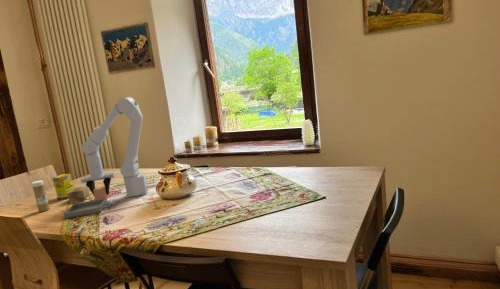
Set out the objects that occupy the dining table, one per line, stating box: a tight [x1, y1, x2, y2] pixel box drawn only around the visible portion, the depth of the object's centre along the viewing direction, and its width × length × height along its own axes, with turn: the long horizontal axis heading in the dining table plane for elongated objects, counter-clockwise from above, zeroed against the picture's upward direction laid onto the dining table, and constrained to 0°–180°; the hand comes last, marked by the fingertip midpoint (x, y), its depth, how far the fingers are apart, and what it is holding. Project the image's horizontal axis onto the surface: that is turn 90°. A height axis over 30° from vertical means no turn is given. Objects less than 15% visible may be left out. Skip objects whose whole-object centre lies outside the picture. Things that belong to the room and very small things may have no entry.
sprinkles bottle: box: [31, 180, 51, 213], centre depth 171 cm, size 5×5×14 cm
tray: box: [63, 199, 108, 220], centre depth 162 cm, size 14×12×2 cm
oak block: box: [67, 185, 90, 204], centre depth 182 cm, size 7×7×5 cm
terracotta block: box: [93, 185, 110, 200], centre depth 176 cm, size 5×5×5 cm
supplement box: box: [52, 173, 75, 200], centre depth 188 cm, size 6×6×11 cm
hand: (101, 195), depth 176 cm, fingers closed on terracotta block, 5 cm apart
